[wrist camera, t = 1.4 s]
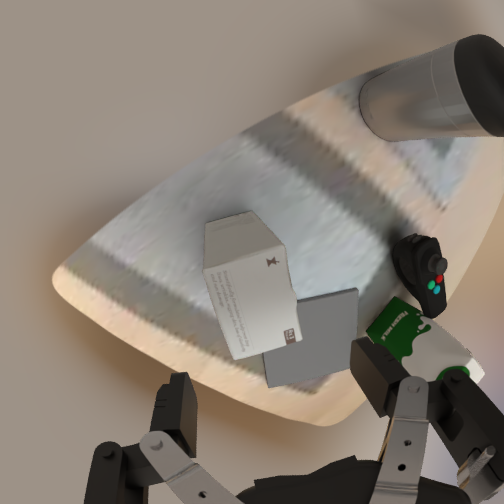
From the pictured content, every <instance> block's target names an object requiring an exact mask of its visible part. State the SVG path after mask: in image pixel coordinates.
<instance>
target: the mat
mask: <svg viewBox="0 0 504 504" xmlns="http://www.w3.org/2000/svg"><path fill="white" fill-rule="evenodd" d="M358 294H359V290H358V289H357V288H353V289H349V290H344V291H340V292H335V293H331V294H326V295H322V296H317V297H312V298H307V299H302V300H297V307H296V309H297V314H298V320H299V324H300V329H301V334H302V338H303V339H302V340H301V341H298V342H294V343H291V344H288V345H286V346H282V347H279V348H276V349H273V350H270V351H266V352H263V357H264V364H265V371H266V377H267V384H268V388H272V387H277V386H282V385H287V384H292V383H296V382H300V381H305V380H309V379H313V378H317V377H321V376H325V375H328V374H332V373H336V372H339V371H342V370H346V369H349V368H350V352H351V342H352V340H355V339H356V335H357V319H358Z"/></svg>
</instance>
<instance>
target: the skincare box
mask: <svg viewBox="0 0 504 504" xmlns="http://www.w3.org/2000/svg"><path fill="white" fill-rule="evenodd" d="M202 272H203V275H204V279H205V282H206V285H207V288H208V292H209V295H210V298H211V301H212V304H213V307H214V310H215V313H216V316H217V318H218V321H219V324H220V326H221V329H222V332H223V334H224V337H225V340H226V343H227V345H228V348H229V350H230V352H231V355H232V357H233V359H234V360H237V359H241V358H245V357H249V356H253V355H256V354H259V353H263V352H266V351H270V350H273V349H276V348H279V347H282V346H286V345H288V344H291V343H294V342H298V341H301V340H302V339H303V338H302V334H301V329H300V324H299V320H298V314H297V309H296V307H297V298H296V294H295V292H294V290H293V288H292V284H291V279H290V274H289V269H288V262H287V253H286V247H285V245H284V244H283V243H282V242H281V241H280V240H279V239H278V238H277V237H276V235H275V234H274V233H273V232H272V231H271V230H270V229H269V228H268V227H267V226H266V225H265V224H264V223H263V222H262V220H261V219H260V218H259V217H258V216H257V215H256V214H255V213H254V212H253V211H249V212H246V213H242V214H238V215H234V216H230V217H227V218H223V219H219V220H216V221H212V222H209V223H206V224H205V237H204V262H203V270H202Z"/></svg>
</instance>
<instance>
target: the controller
mask: <svg viewBox="0 0 504 504" xmlns="http://www.w3.org/2000/svg"><path fill="white" fill-rule="evenodd" d="M393 260H394V265H395V268H396V271H397V273H398V275H399V277H400V279H401V281H402V282H403V284H404V286H405V287H406V289H407V290H408V291H409V292H410V293H411V295H412V296H414V297H415V298H416V299H417V300H418V301H419V303H420V305H421V308H422V311H423V315H425V316H426V317H428V318H430V319H434V318H436V317H437V316H438V315H439V314H441V313H442V312H443V311H444V310H445V308H446V306H447V302H446V292H445V283H444V276H443V273H444V272H445V271H446V269H447V260H446V259H445V258H443V257H442V254H441V250H440V246H439V242H438V240H437V238H435V237H432V238H431V237H428V236H422V235H417V233H415V234H413V235H410V236H407V237H405V238H404V239H402V240H401V241H400V242H398V243H397V245H396V246H395V248H394V251H393Z"/></svg>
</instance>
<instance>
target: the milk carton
mask: <svg viewBox="0 0 504 504" xmlns="http://www.w3.org/2000/svg"><path fill="white" fill-rule="evenodd" d="M366 332H367V334H368V335H369V337H370V338H371V339H372V341H373V342H374V344H375V343H379V344H381V345H383V346H385V347H386V348H387V349H388V350H389V351H390V352H391V354H392V355H393V356H394V357H395V358H396V359H397V360H398V361H399V362H400V364H401V365H402V366H403V367H404V368H405V369H406V370H407V371H408V373H409V374H410V375H411V376H418V377H421V378H423V379H425V380H426V381H427V382H429V381H435V380H440V379H442V378H443V375H444V373H445V372H446V371H448V370H450V369H460V370H462V371H464V372H465V373H466V374H467V375H468V376H469V377H470V378H471V379H472V380H473V381H474V382H475V383H476V384H477V383H478V382H479V381H480V380H481V378H482V377H483V376H484V374H485V373H484V371H483V370H482V367H481V365H480V364H479V362H478V361H477V360H476V358H475V357H474V356H473V354H472V353H471V352H470V351H469V350H468V349H467V350H468V351H469V352H470V353H471V355H472V356H471V355H470V353H469V352H468V351H467V350H466V349H465V348H464V346H463V345H462V344H461V343H460V342H459V341H458V340H457V339H456V338H455V337H453V336H452V335H451V334H450V333H448V332H447V331H446V330H445V329H443V328H442V327H441V326H439V325H438V324H437V323H436V322H435V321H433V320H432V319H430V318H428V317H426V316H425V315H423V312H422V311H420V310H418V309H417V308H415V307H413V306H411V305H409V304H408V303H406V302H404V301H402V300H400V299H398V298H397V297H395V296H394V298H393V299H392V300H391V302H390V303H389V304H388V305H387V307H386V308H385V309H384V310H383V312H382V313H381V314H380V315H379V317H378V318H377V319H376V320H375V321H374V323H373V324H372V325H371V326H370V327H369V328H368V330H367V331H366Z"/></svg>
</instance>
